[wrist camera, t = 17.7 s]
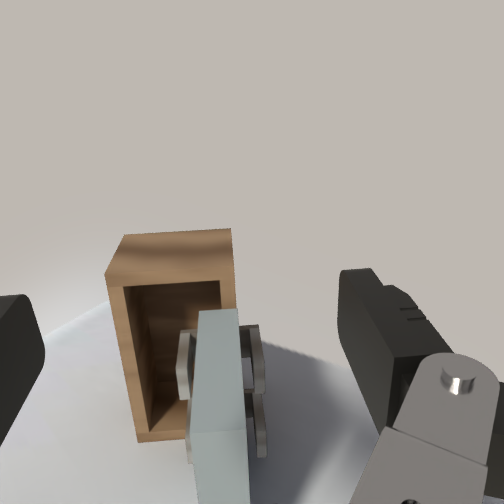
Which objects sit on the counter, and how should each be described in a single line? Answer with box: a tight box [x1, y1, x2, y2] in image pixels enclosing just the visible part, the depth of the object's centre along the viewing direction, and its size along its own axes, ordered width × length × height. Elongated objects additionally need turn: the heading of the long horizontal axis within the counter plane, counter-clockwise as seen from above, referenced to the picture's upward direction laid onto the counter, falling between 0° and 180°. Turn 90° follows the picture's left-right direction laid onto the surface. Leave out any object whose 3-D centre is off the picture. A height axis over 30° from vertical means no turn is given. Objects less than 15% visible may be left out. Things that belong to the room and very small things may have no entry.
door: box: [190, 308, 250, 504], centre depth 31 cm, size 12×3×15 cm, turn 4°
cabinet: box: [105, 228, 267, 464], centre depth 39 cm, size 12×12×18 cm
